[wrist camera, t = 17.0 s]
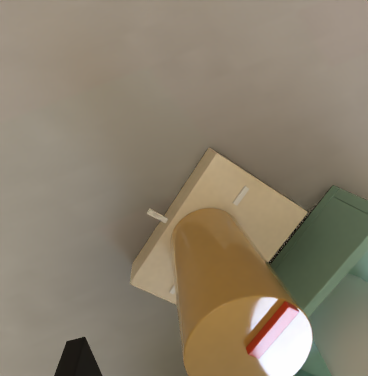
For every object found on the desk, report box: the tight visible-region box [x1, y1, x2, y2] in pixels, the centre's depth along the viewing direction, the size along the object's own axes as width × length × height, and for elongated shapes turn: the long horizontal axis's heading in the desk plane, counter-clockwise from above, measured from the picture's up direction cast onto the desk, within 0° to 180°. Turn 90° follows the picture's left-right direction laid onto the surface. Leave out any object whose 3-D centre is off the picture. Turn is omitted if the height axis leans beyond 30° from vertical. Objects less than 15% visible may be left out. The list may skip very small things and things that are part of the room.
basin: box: [270, 185, 368, 376], centre depth 22 cm, size 17×15×5 cm
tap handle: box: [170, 208, 313, 376], centre depth 14 cm, size 5×5×9 cm
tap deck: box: [130, 147, 308, 305], centre depth 19 cm, size 11×10×3 cm
